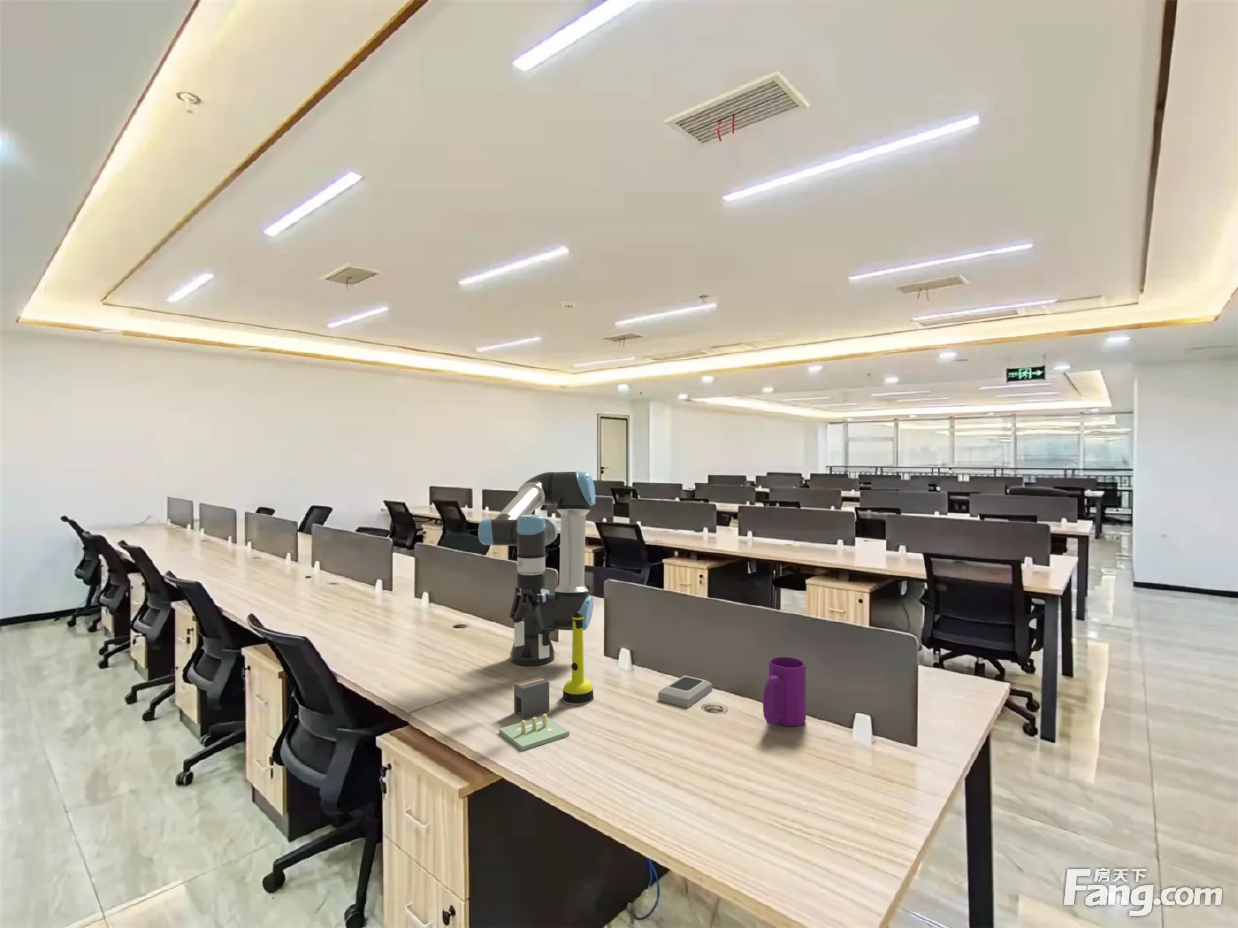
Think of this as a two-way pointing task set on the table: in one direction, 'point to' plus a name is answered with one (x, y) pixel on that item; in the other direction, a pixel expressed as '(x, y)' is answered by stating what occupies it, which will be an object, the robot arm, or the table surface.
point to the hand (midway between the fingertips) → (531, 651)
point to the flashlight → (577, 669)
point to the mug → (785, 692)
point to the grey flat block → (685, 691)
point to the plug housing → (531, 697)
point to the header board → (533, 732)
